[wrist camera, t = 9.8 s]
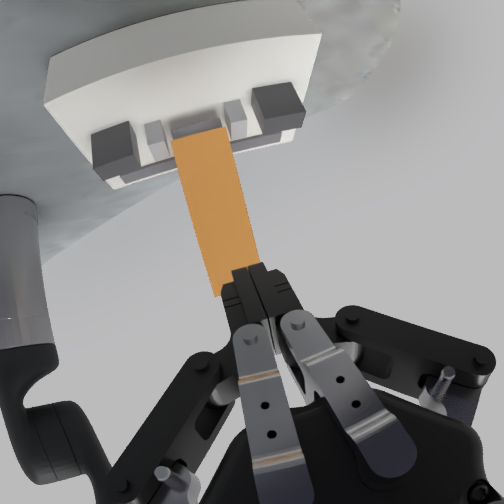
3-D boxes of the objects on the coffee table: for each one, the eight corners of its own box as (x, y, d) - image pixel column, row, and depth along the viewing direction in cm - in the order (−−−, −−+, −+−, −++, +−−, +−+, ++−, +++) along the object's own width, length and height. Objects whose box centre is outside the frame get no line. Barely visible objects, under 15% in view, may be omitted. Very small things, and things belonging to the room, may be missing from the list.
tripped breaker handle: (169, 132, 23) (213, 285, 27) (167, 129, 21) (214, 297, 24) (220, 119, 23) (259, 272, 27) (222, 114, 21) (265, 282, 25)
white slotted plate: (108, 148, 29) (118, 217, 28) (50, 57, 16) (40, 141, 14) (275, 103, 31) (302, 166, 30) (293, -4, 18) (342, 63, 16)
